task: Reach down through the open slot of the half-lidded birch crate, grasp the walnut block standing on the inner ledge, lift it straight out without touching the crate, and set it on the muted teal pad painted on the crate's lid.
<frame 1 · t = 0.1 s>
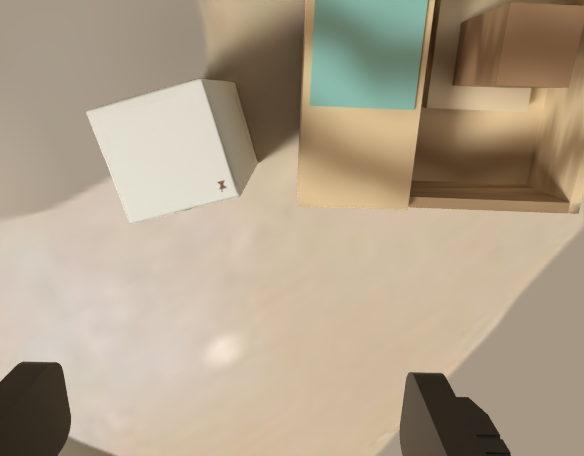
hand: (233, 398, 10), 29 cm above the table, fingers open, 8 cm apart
block: (485, 55, 32), point 2 cm above the table, touching crate
crate: (430, 56, 34), on the table
supplement box: (207, 134, 37), on the table
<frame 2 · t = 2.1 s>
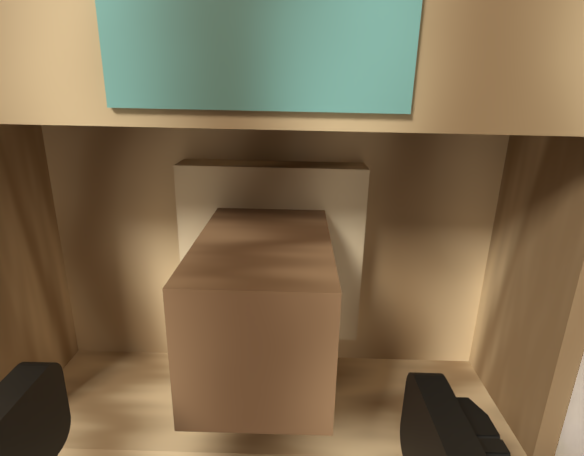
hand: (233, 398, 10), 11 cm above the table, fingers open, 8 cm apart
block: (271, 258, 18), point 2 cm above the table, touching crate
crate: (274, 168, 20), on the table
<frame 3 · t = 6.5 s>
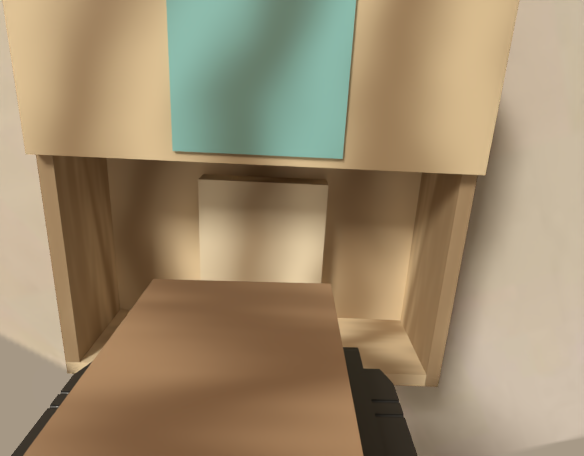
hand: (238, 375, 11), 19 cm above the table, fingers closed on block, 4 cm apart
block: (243, 356, 11), point 18 cm above the table, touching gripper
crate: (265, 181, 28), on the table
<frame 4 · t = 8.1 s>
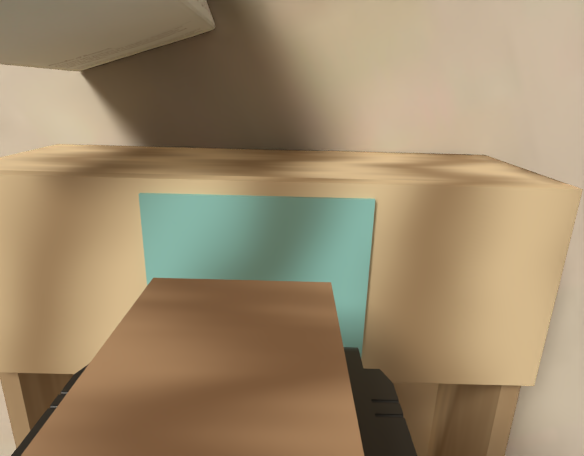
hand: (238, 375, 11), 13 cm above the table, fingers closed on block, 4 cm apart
block: (243, 355, 11), point 12 cm above the table, touching gripper
crate: (269, 327, 25), on the table
when the fingers open (10 cm above the table, at t = 9.4 s): block drops 1 cm, resting on crate.
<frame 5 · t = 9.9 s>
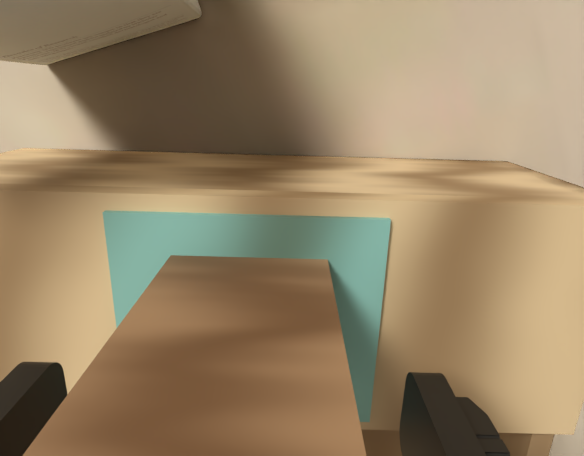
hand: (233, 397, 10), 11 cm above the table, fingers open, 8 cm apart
block: (249, 326, 13), point 8 cm above the table, touching crate
crate: (264, 352, 22), on the table
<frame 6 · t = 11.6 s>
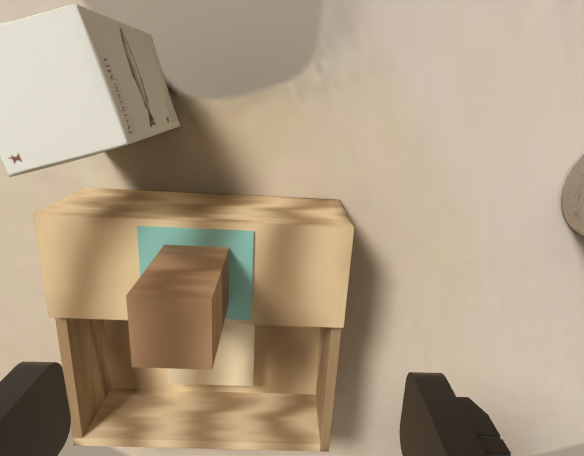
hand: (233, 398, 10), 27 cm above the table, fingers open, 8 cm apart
block: (197, 275, 30), point 8 cm above the table, touching crate
crate: (214, 301, 40), on the table
supplement box: (125, 92, 34), on the table
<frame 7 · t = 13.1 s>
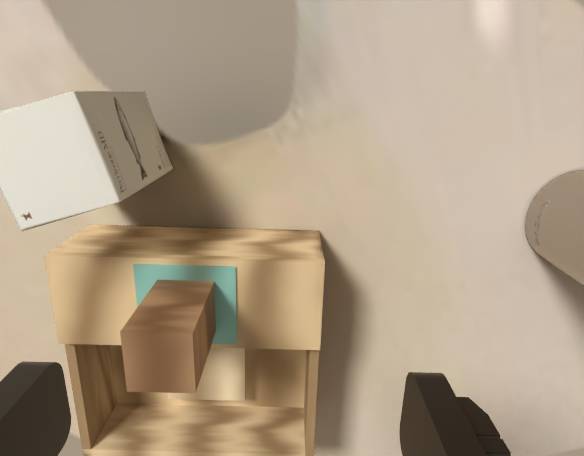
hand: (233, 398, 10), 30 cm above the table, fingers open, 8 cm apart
block: (187, 305, 34), point 8 cm above the table, touching crate
crate: (208, 323, 44), on the table
supplement box: (124, 140, 38), on the table
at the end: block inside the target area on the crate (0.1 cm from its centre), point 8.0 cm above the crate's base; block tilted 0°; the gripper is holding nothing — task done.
